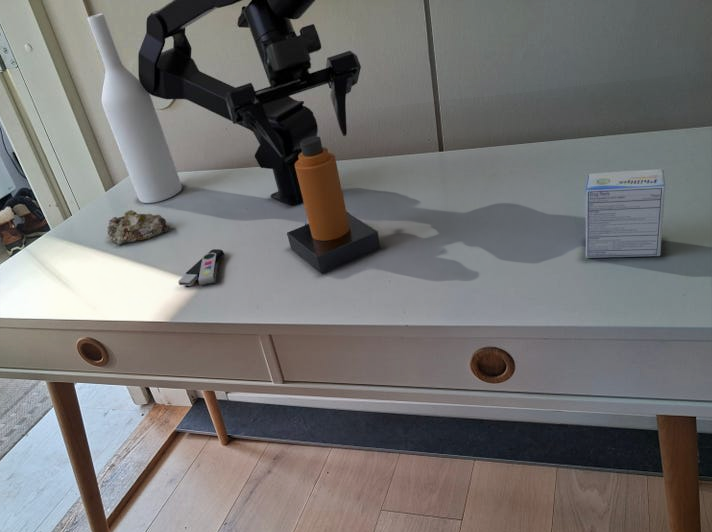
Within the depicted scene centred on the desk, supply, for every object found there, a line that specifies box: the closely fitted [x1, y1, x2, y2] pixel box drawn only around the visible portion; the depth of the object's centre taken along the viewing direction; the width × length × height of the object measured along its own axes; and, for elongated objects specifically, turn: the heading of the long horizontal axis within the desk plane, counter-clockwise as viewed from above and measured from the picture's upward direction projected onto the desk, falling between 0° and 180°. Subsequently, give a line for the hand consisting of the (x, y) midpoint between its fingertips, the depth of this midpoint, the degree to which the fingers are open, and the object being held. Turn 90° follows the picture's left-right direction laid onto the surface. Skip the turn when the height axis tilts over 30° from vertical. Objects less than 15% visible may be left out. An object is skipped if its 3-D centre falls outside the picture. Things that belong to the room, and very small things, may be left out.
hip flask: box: [286, 211, 382, 275], centre depth 96 cm, size 12×9×3 cm
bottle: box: [87, 13, 183, 204], centre depth 119 cm, size 8×8×30 cm
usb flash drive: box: [178, 248, 225, 287], centre depth 97 cm, size 9×5×1 cm, turn 155°
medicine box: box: [585, 168, 666, 259], centre depth 78 cm, size 8×4×9 cm, turn 71°
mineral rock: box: [107, 209, 169, 246], centre depth 113 cm, size 11×4×8 cm
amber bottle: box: [295, 135, 350, 241], centre depth 91 cm, size 5×5×13 cm
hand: (314, 145), depth 97 cm, fingers open, 9 cm apart
